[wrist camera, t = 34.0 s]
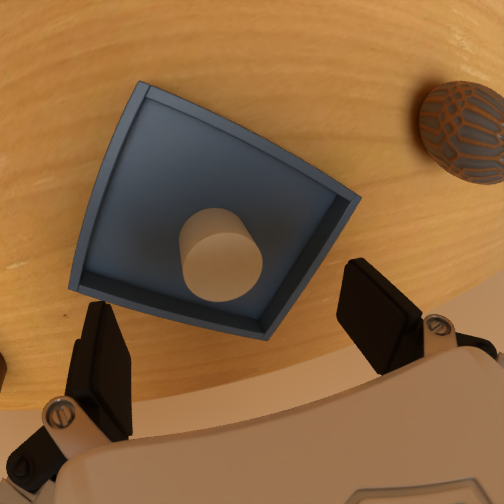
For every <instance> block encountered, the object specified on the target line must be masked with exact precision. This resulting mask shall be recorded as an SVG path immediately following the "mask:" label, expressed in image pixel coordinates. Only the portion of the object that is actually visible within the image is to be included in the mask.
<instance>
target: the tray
mask: <svg viewBox="0 0 504 504" xmlns="http://www.w3.org/2000/svg"><path fill="white" fill-rule="evenodd" d="M361 199H362V198H361V196H359V195H358V194H356V193H354V192H353V191H352V190H350V189H349V188H347V187H345V186H344V185H342V184H341V183H339V182H338V181H336V180H335V179H333V178H331V177H330V176H328V175H327V174H325V173H323V172H322V171H320V170H319V169H317V168H315V167H314V166H312V165H310V164H309V163H307V162H305V161H304V160H302V159H300V158H299V157H297V156H295V155H293V154H292V153H290V152H288V151H287V150H285V149H283V148H281V147H279V146H278V145H276V144H274V143H272V142H270V141H269V140H267V139H265V138H263V137H261V136H259V135H258V134H256V133H254V132H252V131H250V130H248V129H246V128H244V127H242V126H240V125H238V124H236V123H234V122H232V121H230V120H228V119H226V118H224V117H222V116H220V115H218V114H216V113H214V112H212V111H210V110H208V109H205V108H203V107H201V106H199V105H197V104H195V103H192V102H190V101H188V100H186V99H183V98H181V97H179V96H177V95H174V94H172V93H169V92H167V91H165V90H162V89H160V88H157V87H155V86H151V85H150V84H147V83H145V82H142V81H138V83H137V85H136V87H135V89H134V91H133V93H132V95H131V97H130V99H129V101H128V103H127V105H126V107H125V109H124V111H123V114H122V116H121V118H120V120H119V122H118V125H117V127H116V129H115V132H114V134H113V136H112V139H111V141H110V144H109V146H108V149H107V151H106V154H105V157H104V159H103V162H102V165H101V167H100V170H99V173H98V176H97V179H96V181H95V184H94V187H93V190H92V194H91V197H90V200H89V203H88V206H87V210H86V213H85V217H84V220H83V224H82V227H81V231H80V235H79V239H78V243H77V247H76V251H75V256H74V260H73V265H72V270H71V274H70V280H69V285H68V289H69V290H72V291H75V292H77V291H78V293H81V294H84V295H87V296H90V297H93V298H96V299H99V300H102V301H106V302H109V303H112V304H115V305H119V306H122V307H125V308H129V309H132V310H136V311H139V312H143V313H146V314H150V315H154V316H157V317H161V318H165V319H169V320H173V321H177V322H181V323H185V324H189V325H193V326H197V327H201V328H206V329H210V330H214V331H219V332H224V333H228V334H233V335H238V336H243V337H248V338H253V339H258V340H260V339H261V340H263V341H268V340H269V339H270V337H271V336H272V334H273V333H274V332H275V330H276V329H277V327H278V326H279V325H280V323H281V322H282V320H283V319H284V318H285V316H286V315H287V313H288V312H289V310H290V309H291V308H292V306H293V305H294V303H295V302H296V300H297V299H298V297H299V296H300V294H301V293H302V291H303V290H304V289H305V287H306V286H307V284H308V283H309V281H310V280H311V278H312V277H313V275H314V274H315V272H316V271H317V269H318V267H319V266H320V264H321V263H322V261H323V260H324V258H325V257H326V255H327V254H328V252H329V251H330V249H331V247H332V246H333V244H334V243H335V241H336V239H337V238H338V236H339V235H340V233H341V232H342V230H343V228H344V227H345V225H346V223H347V222H348V220H349V219H350V217H351V215H352V214H353V212H354V210H355V209H356V207H357V205H358V204H359V202H360V200H361ZM208 208H222V209H226V210H229V211H231V212H233V213H234V214H236V215H237V216H238V217H239V218H240V220H241V221H242V222H243V224H244V226H245V227H246V229H247V231H248V232H249V234H250V235H251V237H252V239H253V240H254V242H255V243H256V245H257V247H258V248H259V250H260V253H261V255H262V263H263V264H262V271H261V274H260V277H259V278H258V280H257V282H256V283H255V285H254V286H253V287H252V288H251V289H250V290H249V291H248V292H246V293H245V294H243V295H242V296H240V297H238V298H235V299H232V300H229V301H223V302H214V301H208V300H205V299H202V298H200V297H198V296H197V295H195V294H194V293H193V292H192V291H191V290H190V289H189V288H188V286H187V285H186V283H185V280H184V277H183V270H182V263H181V256H180V248H179V235H180V231H181V229H182V227H183V225H184V224H185V222H186V221H187V220H188V219H189V218H190V217H191V216H192V215H194V214H195V213H197V212H199V211H201V210H204V209H208Z"/></svg>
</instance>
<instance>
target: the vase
mask: <svg viewBox="0 0 504 504" xmlns="http://www.w3.org/2000/svg"><path fill="white" fill-rule="evenodd" d="M418 122H419V131H420V135H421V138H422V141H423V144H424V146H425V148H426V150H427V151H428V153H429V155H430V156H431V157H432V158H433V159H434V161H435V162H436V163H437V164H439V165H440V166H441V167H442V168H443V169H444V170H446V171H447V172H449V173H450V174H452V175H454V176H456V177H458V178H460V179H462V180H464V181H467V182H471V183H476V184H485V185H490V184H496V183H500V182H503V181H504V98H503V97H502V96H501V95H500V94H498V93H497V92H495V91H493V90H492V89H490V88H488V87H486V86H483V85H481V84H478V83H473V82H467V81H453V82H448V83H444V84H441V85H439V86H437V87H436V88H434V89H433V90H432V91H431V92H430V93H429V94H428V95H427V96H426V98H425V100H424V101H423V103H422V106H421V108H420V112H419V121H418Z"/></svg>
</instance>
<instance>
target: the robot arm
mask: <svg viewBox="0 0 504 504" xmlns="http://www.w3.org/2000/svg"><path fill="white" fill-rule="evenodd" d="M422 313H423V312H422V311H421V310H420V309H419V308H418V307H417V306H415V305H414V304H413V303H412V302H411V301H410V300H409V299H408V298H407V297H406V296H405V295H404V294H403V293H402V292H401V291H399V290H398V289H397V288H396V287H395V286H394V285H393V284H392V283H391V282H390V281H389V280H387V279H386V278H385V277H384V276H383V275H382V274H381V273H380V272H379V271H377V270H376V269H375V268H374V267H373V266H372V265H371V264H370V263H368V262H367V261H366V260H365V259H364V258H356V259H351V260H349V261H348V264H346V265H345V268H344V274H343V280H342V286H341V292H340V297H339V302H338V308H337V313H336V317H337V320H338V322H339V323H340V325H341V326H342V327H343V328H344V330H345V331H346V332H347V334H348V335H349V336H350V338H351V339H352V340H353V342H354V343H355V344H356V346H357V347H358V348H359V350H360V351H361V352H362V354H363V355H364V356H365V358H366V359H367V360H368V362H369V363H370V364H371V366H372V367H373V369H374V370H375V371H376V373H377V374H381V375H382V376H380V377H378V378H376V379H374V380H371V381H368V382H366V383H364V384H361V385H359V386H356V387H354V388H351V389H348V390H345V391H343V392H340V393H337V394H334V395H332V396H329V397H326V398H323V399H320V400H317V401H314V402H311V403H308V404H305V405H302V406H298V407H295V408H292V409H288V410H285V411H281V412H278V413H274V414H270V415H267V416H262V417H259V418H255V419H250V420H246V421H242V422H238V423H233V424H228V425H223V426H219V427H213V428H208V429H202V430H196V431H190V432H184V433H177V434H170V435H163V436H155V437H146V438H139V439H133V440H129V439H128V436H132V433H133V431H132V406H131V357H130V354H129V351H128V349H127V346H126V344H125V341H124V339H123V336H122V334H121V331H120V329H119V326H118V323H117V321H116V318H115V315H114V313H113V310H112V307H111V305H110V304H106V303H105V301H98V302H91V303H89V306H88V310H87V314H86V318H85V322H84V326H83V331H82V335H81V339H77V340H76V341H75V344H74V348H73V353H72V357H71V362H70V367H69V372H68V378H67V384H66V389H65V396H58V397H55V398H53V399H51V400H50V401H49V402H48V403H47V404H46V405H45V407H44V409H43V412H42V422H43V424H44V425H43V426H42V427H41V428H40V429H39V430H37V431H36V432H35V433H34V434H33V435H32V436H31V437H29V438H28V439H27V440H26V441H25V442H24V443H23V444H21V445H20V446H19V447H18V448H17V449H16V450H15V451H13V452H12V453H11V455H10V456H9V458H8V460H7V464H6V470H7V474H8V477H7V479H4V478H3V479H2V480H1V482H0V504H504V354H503V353H501V352H499V353H498V354H497V351H496V349H495V347H494V345H493V344H492V343H491V342H490V341H488V340H485V339H482V338H478V337H474V336H470V335H465V334H461V333H457V332H455V328H454V325H453V324H452V322H451V321H450V320H449V319H447V318H446V317H444V316H441V315H438V314H431V315H428V316H426V317H425V319H424V320H423V319H422V318H421V316H422Z"/></svg>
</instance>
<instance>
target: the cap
mask: <svg viewBox="0 0 504 504" xmlns="http://www.w3.org/2000/svg"><path fill="white" fill-rule="evenodd" d="M179 248H180V256H181V263H182V270H183V277H184V280H185V283H186V285H187V286H188V288H189V289H190V290H191V291H192V292H193V293H194V294H195V295H197V296H198V297H200V298H202V299H205V300H208V301H214V302H223V301H229V300H232V299H235V298H238V297H240V296H242V295H243V294H245V293H246V292H248V291H249V290H250V289H251V288H252V287H253V286H254V285H255V283H256V282H257V280H258V278H259V277H260V274H261V271H262V264H263V263H262V255H261V253H260V250H259V248H258V247H257V245H256V243H255V242H254V240H253V239H252V237H251V235H250V234H249V232H248V231H247V229H246V227H245V226H244V224H243V222H242V221H241V220H240V218H239V217H238V216H237V215H236V214H234V213H233V212H231V211H229V210H226V209H222V208H208V209H204V210H201V211H199V212H197V213H195V214H194V215H192V216H191V217H190V218H189V219H188V220H187V221H186V222H185V224H184V225H183V227H182V229H181V231H180V235H179Z"/></svg>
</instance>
